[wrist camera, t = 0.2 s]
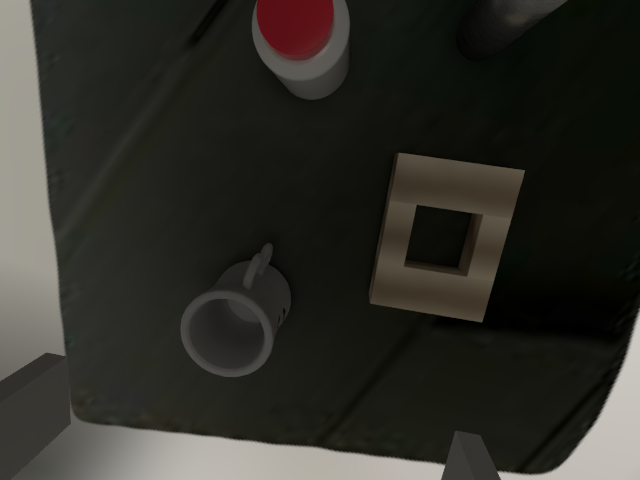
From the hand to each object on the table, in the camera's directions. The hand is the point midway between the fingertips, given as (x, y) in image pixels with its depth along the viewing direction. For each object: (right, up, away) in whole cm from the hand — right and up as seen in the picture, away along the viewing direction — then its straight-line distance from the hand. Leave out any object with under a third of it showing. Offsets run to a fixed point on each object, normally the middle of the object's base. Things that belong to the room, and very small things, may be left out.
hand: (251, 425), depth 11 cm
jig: (+15, +7, +26) cm, 30 cm away
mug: (-5, +1, +29) cm, 29 cm away
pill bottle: (+2, +25, +23) cm, 34 cm away
